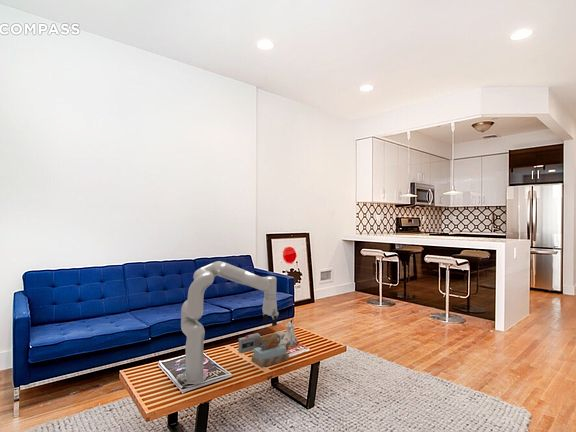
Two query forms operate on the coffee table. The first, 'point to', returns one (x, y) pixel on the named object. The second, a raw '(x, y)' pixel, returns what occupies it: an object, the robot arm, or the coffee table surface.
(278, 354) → the blue-grey rectangular block
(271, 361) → the tower base
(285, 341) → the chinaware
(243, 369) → the coffee table surface
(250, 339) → the cassette player
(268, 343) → the brown rounded slab
